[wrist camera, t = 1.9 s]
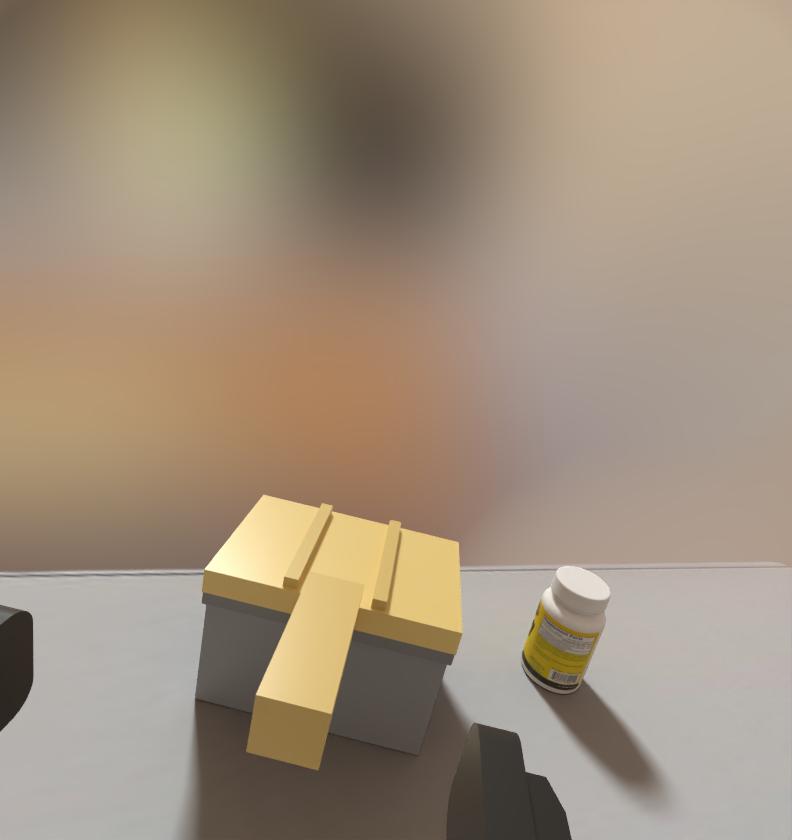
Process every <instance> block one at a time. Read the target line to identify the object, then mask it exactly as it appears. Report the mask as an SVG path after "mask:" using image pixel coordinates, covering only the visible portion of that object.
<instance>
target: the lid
mask: <svg viewBox="0 0 792 840" xmlns="http://www.w3.org/2000/svg"><path fill="white" fill-rule="evenodd" d="M332 509H333V506H332V505H327V504H324V503H322V505H321V507H320V508H316V507H312V506H308V505H303V504H299V503H295V502H291V501H287V500H283V499H278V498H275V497H271V496H266V495H263V496H262V498H261V499H260V500H259V501H258V503H257V504H256V505H255V506H254V508H253V509H252V510H251V511H250V513H249V514H248V515H247V516H246V518H245V519H244V520H243V522H242V523H241V524H240V525H239V527H238V528H237V529H236V530H235V532H234V533H233V534H232V535H231V537H230V538H229V539H228V540H227V542H226V543H225V544H224V545H223V547H222V548H221V549H220V551H219V552H218V553H217V554H216V555H215V557H214V558H213V559H212V561H211V562H210V563H209V564H208V566H207V567H206V568H205V570H204V578H203V587H202V592H205V593H209V594H213V595H217V596H221V597H225V598H229V599H233V600H237V601H241V602H245V603H249V604H253V605H257V606H261V607H265V608H269V609H273V610H277V611H281V612H285V613H289V614H291V616H290V619H289V621H288V623H287V625H286V628H285V630H284V632H283V634H282V637H281V639H280V641H279V643H278V646H277V648H276V650H275V652H274V655H273V657H272V659H271V661H270V664H269V666H268V668H267V671H266V673H265V675H264V677H263V680H262V682H261V684H260V686H259V689H258V691H257V693H256V696H255V702H254V708H253V714H252V720H251V726H250V732H249V738H248V744H247V749H246V752H248V753H252V754H256V755H260V756H264V757H268V758H271V759H275V760H279V761H283V762H287V763H291V764H295V765H299V766H303V767H306V768H310V769H314V770H318V771H319V767H320V763H321V759H322V755H323V751H324V747H325V743H326V739H327V735H328V731H329V727H330V723H331V719H332V715H333V712H334V708H335V704H336V700H337V696H338V692H339V688H340V684H341V680H342V676H343V672H344V668H345V664H346V660H347V656H348V652H349V648H350V644H351V640H352V636H353V632H354V630H357V631H361V632H365V633H369V634H373V635H377V636H381V637H385V638H389V639H393V640H397V641H401V642H405V643H409V644H413V645H417V646H421V647H425V648H429V649H433V650H437V651H441V652H445V653H449V654H453V655H456V652H457V649H458V646H459V643H460V639H461V636H462V611H461V587H460V564H459V543H458V542H455V541H451V540H447V539H443V538H439V537H434V536H431V535H427V534H423V533H418V532H414V531H410V530H406V529H402V528H400V526H401V522H398V521H393V520H390V523H389V525H385V524H381V523H377V522H373V521H369V520H365V519H361V518H357V517H352V516H349V515H344V514H340V513H336V512H332Z"/></svg>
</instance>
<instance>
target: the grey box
mask: <svg viewBox="0 0 792 840" xmlns="http://www.w3.org/2000/svg"><path fill="white" fill-rule="evenodd" d="M202 603H203V604H206V612H205V621H204V629H203V637H202V645H201V653H200V662H199V670H198V678H197V686H196V694H195V699H198V700H202V701H206V702H210V703H214V704H218V705H222V706H226V707H230V708H233V709H237V710H241V711H245V712H249V713H253V708H254V702H255V696H256V693H257V691H258V689H259V686H260V684H261V682H262V680H263V677H264V675H265V673H266V671H267V668H268V666H269V664H270V661H271V659H272V657H273V655H274V652H275V650H276V648H277V646H278V643H279V641H280V639H281V637H282V634H283V632H284V630H285V628H286V625H287V623H288V621H289V619H290V616H291V614H289V613H285V612H281V611H277V610H273V609H269V608H265V607H261V606H257V605H253V604H249V603H245V602H241V601H237V600H233V599H229V598H225V597H221V596H217V595H213V594H209V593H205V592H203V597H202ZM453 658H454V655H453V654H449V653H445V652H441V651H437V650H433V649H429V648H425V647H421V646H417V645H413V644H409V643H405V642H401V641H397V640H393V639H389V638H385V637H381V636H377V635H373V634H369V633H365V632H361V631H357V630H354V632H353V636H352V640H351V644H350V648H349V652H348V656H347V660H346V664H345V668H344V672H343V676H342V680H341V684H340V688H339V692H338V696H337V700H336V704H335V708H334V712H333V715H332V719H331V723H330V727H329V731H328V733H331V734H335V735H339V736H343V737H347V738H351V739H355V740H359V741H363V742H367V743H371V744H375V745H378V746H382V747H386V748H390V749H394V750H398V751H402V752H406V753H410V754H414V755H418V756H419V753H420V749H421V746H422V743H423V740H424V736H425V733H426V730H427V727H428V724H429V720H430V717H431V714H432V711H433V707H434V704H435V701H436V698H437V695H438V691H439V688H440V685H441V682H442V678H443V675H444V672H445V669H446V666H447V665H451V664H452V661H453Z"/></svg>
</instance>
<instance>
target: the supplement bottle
mask: <svg viewBox="0 0 792 840" xmlns="http://www.w3.org/2000/svg"><path fill="white" fill-rule="evenodd" d="M610 596H611V592H610V589H609V587H608V586H607V584H606V583H605V582H604V581H603V580H602V579H600V578H599V577H598V576H596V575H595V574H593V573H591V572H589V571H587V570H585V569H582V568H579V567H574V566H563V567H560V568H559V569H558V570H557V572H556V574H555V576H554V579H553V580H552V583H551V587H550V588H548V589H547V590H546V591H545V592H544V593H543V595H542V598H541V601H540V603H539V606H538V609H537V612H536V615H535V618H534V620H533V623H532V626H531V629H530V631H529V634H528V637H527V640H526V643H525V645H524V649H523V651H522V655H521V662H522V666H523V668H524V670H525V672H526V673H527V675H528V676H529V677H530V678H531V679H532V680H533V681H534V682H536V683H537V684H538V685H540V686H541V687H543V688H545V689H547V690H549V691H552V692H555V693H559V694H568V693H572V692H574V691H576V690H577V689H578V688H579V686H580V684H581V682H582V680H583V677H584V675H585V672H586V670H587V668H588V665H589V662H590V660H591V657H592V655H593V653H594V650H595V648H596V645H597V643H598V640H599V638H600V636H601V633H602V631H603V629H604V626H605V622H606V618H605V613H604V611H605V609H606V607H607V604H608V601H609V599H610Z"/></svg>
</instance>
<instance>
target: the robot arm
mask: <svg viewBox="0 0 792 840" xmlns="http://www.w3.org/2000/svg"><path fill="white" fill-rule="evenodd" d="M32 683H33V618H32V615H31V614H30V613H29V612H27V611H23V610H19V609H15V608H11V607H7V606H3V605H0V731H1V730H2V729H3V728H4V727H5V726H6V725H7V724H8V723H9V722H10V721H11V720H12V719H13V718H14V717H15V715H16V714H17V713H18V712H19V710H20V709H21V707H22V706H23V704H24V702H25V701H26V699H27V697H28V695H29V692H30V690H31V687H32ZM447 840H572V839H571V835H570V830H569V826H568V821H567V817H566V812H565V810H564V809H563V807H562V805H561V803H560V801H559V800H558V798H557V796H556V794H555V792H554V791H553V789H552V787H551V785H550V783H549V782H548V780H547V778H546V777H543V776H539V775H535V774H531V773H527V772H525V766H524V760H523V754H522V747H521V742H520V738H519V736H518V734H517V733H514V732H510V731H506V730H502V729H498V728H494V727H490V726H486V725H482V724H477V723H474V724H473V725H472V727H471V730H470V732H469V735H468V738H467V741H466V744H465V748H464V751H463V754H462V757H461V760H460V763H459V766H458V769H457V772H456V775H455V778H454V781H453V784H452V788H451V792H450V798H449V805H448V813H447Z"/></svg>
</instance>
